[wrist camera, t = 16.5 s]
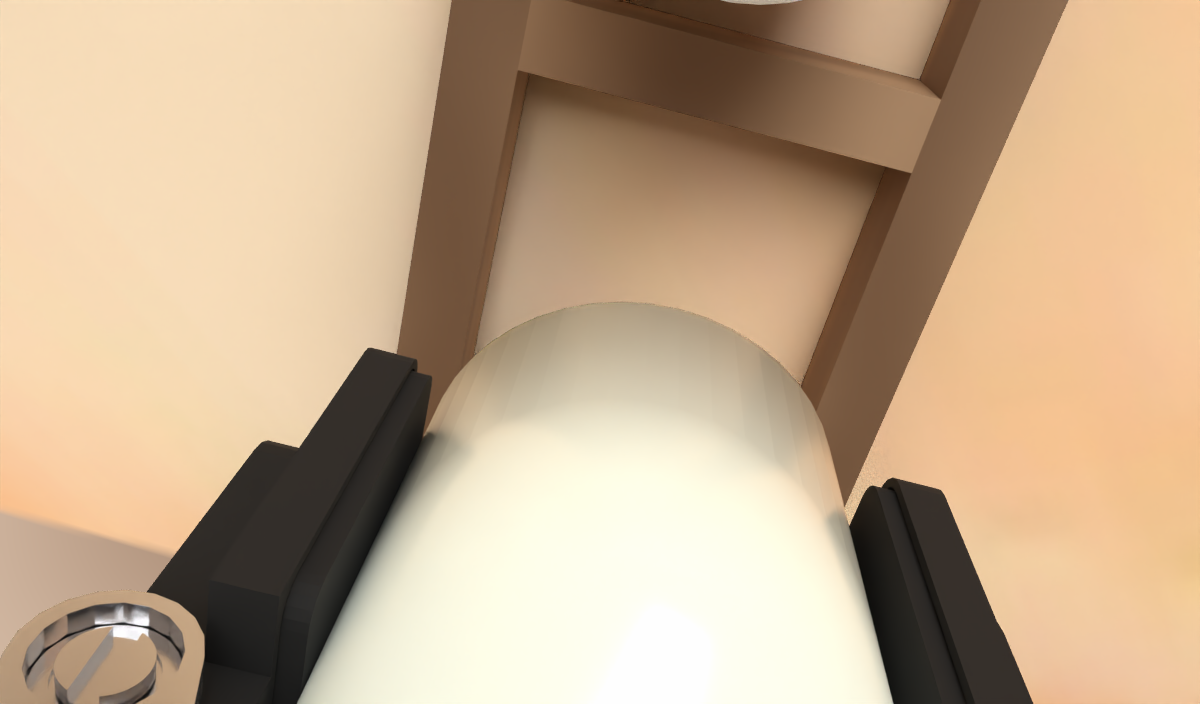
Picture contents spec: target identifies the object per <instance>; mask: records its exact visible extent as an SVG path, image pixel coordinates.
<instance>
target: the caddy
mask: <svg viewBox="0 0 1200 704" xmlns="http://www.w3.org/2000/svg"><path fill="white" fill-rule="evenodd" d="M1067 2H1068V0H951V1H950V3H949V6H948V9H947V11H946V14H945V16H944V19H943V21H942V24H941V27H940V29H939V32H938V34H937V37H936V40H935V42H934V45H933V47H932V50H931V52H930V55H929V58H928V60H927V63H926V65H925V68H924V71H923V73H922V76H921V78H920V80H918V79H914V78H910V77H906V76H902V75H899V74H895V73H891V72H887V71H884V70H880V69H876V68H872V67H868V66H865V65H861V64H857V63H853V62H850V61H846V60H842V59H838V58H834V57H831V56H827V55H823V54H819V53H816V52H812V51H808V50H804V49H800V48H797V47H793V46H789V45H785V44H782V43H778V42H774V41H770V40H766V39H763V38H759V37H755V36H751V35H747V34H744V33H740V32H736V31H732V30H729V29H725V28H721V27H717V26H713V25H710V24H706V23H702V22H698V21H695V20H691V19H687V18H683V17H679V16H676V15H672V14H668V13H664V12H661V11H657V10H653V9H649V8H645V7H642V6H638V5H634V4H630V3H627V2H623V1H619V0H452V3H451V10H450V16H449V23H448V29H447V36H446V42H445V48H444V55H443V61H442V68H441V74H440V80H439V87H438V93H437V100H436V106H435V113H434V119H433V125H432V132H431V138H430V145H429V151H428V157H427V164H426V170H425V177H424V183H423V190H422V196H421V202H420V209H419V215H418V222H417V228H416V235H415V241H414V247H413V254H412V260H411V267H410V273H409V279H408V286H407V292H406V299H405V305H404V312H403V318H402V324H401V331H400V337H399V344H398V350H397V354H398V355H402V356H406V357H410V358H414V359H417V362H418V369H417V372H418V373H422V374H426V375H430V376H432V386H431V393H430V398H429V404H428V409H427V415H426V421H425V426H424V432H423V437H424V435H425V433H426V430H427V428H428V426H429V424H430V422H431V420H432V418H433V416H434V414H435V411H436V409H437V407H438V405H439V403H440V401H441V399H442V397H443V395H444V394H445V392H446V391H447V389H448V387H449V386H450V384H451V383H452V381H453V380H454V378H455V377H456V376H457V374H458V373H459V372H460V371H461V370H462V369H463V368H464V367H465V365H466V364H467V363H468V362H469V361H470V360H471V359H472V358H473V355H474V350H475V345H476V340H477V335H478V330H479V325H480V320H481V315H482V310H483V305H484V300H485V295H486V290H487V285H488V280H489V275H490V269H491V264H492V259H493V254H494V249H495V244H496V239H497V234H498V229H499V224H500V219H501V214H502V209H503V204H504V199H505V194H506V189H507V184H508V179H509V174H510V169H511V164H512V159H513V154H514V149H515V143H516V138H517V133H518V128H519V123H520V118H521V113H522V108H523V103H524V98H525V93H526V88H527V83H528V78H529V73H531V74H535V75H538V76H542V77H546V78H550V79H554V80H558V81H561V82H565V83H569V84H573V85H577V86H580V87H584V88H588V89H592V90H596V91H600V92H603V93H607V94H611V95H615V96H619V97H622V98H626V99H630V100H634V101H638V102H641V103H645V104H649V105H653V106H657V107H661V108H664V109H668V110H672V111H676V112H680V113H683V114H687V115H691V116H695V117H699V118H702V119H706V120H710V121H714V122H718V123H722V124H725V125H729V126H733V127H737V128H741V129H744V130H748V131H752V132H756V133H760V134H764V135H767V136H771V137H775V138H779V139H783V140H786V141H790V142H794V143H798V144H802V145H805V146H809V147H813V148H817V149H821V150H825V151H828V152H832V153H836V154H840V155H844V156H847V157H851V158H855V159H859V160H863V161H866V162H870V163H874V164H878V165H882V166H886V169H885V171H884V174H883V177H882V179H881V182H880V184H879V187H878V189H877V192H876V195H875V197H874V200H873V202H872V205H871V208H870V210H869V213H868V215H867V218H866V220H865V223H864V226H863V228H862V231H861V233H860V236H859V239H858V241H857V244H856V246H855V249H854V251H853V254H852V257H851V259H850V262H849V264H848V267H847V270H846V272H845V275H844V277H843V280H842V282H841V285H840V288H839V290H838V293H837V295H836V298H835V301H834V303H833V306H832V308H831V311H830V314H829V316H828V319H827V321H826V324H825V326H824V329H823V332H822V334H821V337H820V339H819V342H818V345H817V347H816V350H815V352H814V355H813V357H812V360H811V363H810V365H809V368H808V370H807V373H806V376H805V378H804V381H803V383H802V386H801V388H802V390H803V391H804V393H805V394H806V396H807V397H808V399H809V400H810V401H811V403H812V405H813V407H814V409H815V411H816V413H817V415H818V417H819V419H820V421H821V423H822V426H823V429H824V432H825V435H826V438H827V442H828V445H829V448H830V452H831V456H832V460H833V464H834V468H835V472H836V476H837V480H838V484H839V488H840V492H841V496H842V500H843V504H844V507H845V505H846V503H847V500H848V498H849V496H850V494H851V491H852V489H853V487H854V485H855V482H856V480H857V478H858V476H859V473H860V471H861V469H862V466H863V464H864V462H865V460H866V457H867V455H868V453H869V451H870V448H871V446H872V444H873V442H874V439H875V437H876V435H877V433H878V430H879V428H880V426H881V423H882V421H883V419H884V417H885V414H886V412H887V410H888V408H889V405H890V403H891V401H892V399H893V396H894V394H895V392H896V389H897V387H898V385H899V383H900V380H901V378H902V376H903V374H904V371H905V369H906V367H907V365H908V362H909V360H910V358H911V355H912V353H913V351H914V349H915V346H916V344H917V342H918V340H919V337H920V335H921V333H922V331H923V328H924V326H925V324H926V321H927V319H928V317H929V315H930V312H931V310H932V308H933V306H934V303H935V301H936V299H937V297H938V294H939V292H940V290H941V288H942V285H943V283H944V281H945V278H946V276H947V274H948V272H949V269H950V267H951V265H952V263H953V260H954V258H955V256H956V254H957V251H958V249H959V247H960V244H961V242H962V240H963V238H964V235H965V233H966V231H967V229H968V226H969V224H970V222H971V220H972V217H973V215H974V213H975V210H976V208H977V206H978V204H979V201H980V199H981V197H982V195H983V192H984V190H985V188H986V186H987V183H988V181H989V179H990V176H991V174H992V172H993V170H994V167H995V165H996V163H997V161H998V158H999V156H1000V154H1001V152H1002V149H1003V147H1004V145H1005V143H1006V140H1007V138H1008V136H1009V133H1010V131H1011V129H1012V127H1013V124H1014V122H1015V120H1016V118H1017V115H1018V113H1019V111H1020V109H1021V106H1022V104H1023V102H1024V99H1025V97H1026V95H1027V93H1028V90H1029V88H1030V86H1031V84H1032V81H1033V79H1034V77H1035V75H1036V72H1037V70H1038V68H1039V65H1040V63H1041V61H1042V59H1043V56H1044V54H1045V52H1046V50H1047V47H1048V45H1049V43H1050V41H1051V38H1052V36H1053V34H1054V31H1055V29H1056V27H1057V25H1058V22H1059V20H1060V18H1061V16H1062V13H1063V11H1064V9H1065V7H1066V4H1067ZM423 437H422V439H423Z"/></svg>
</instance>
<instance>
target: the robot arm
mask: <svg viewBox="0 0 1200 704" xmlns="http://www.w3.org/2000/svg"><path fill="white" fill-rule="evenodd" d="M417 369H418V362H417V359H414V358H410V357H406V356H402V355H398V354H394V353H390V352H386V351H382V350H378V349H374V348H368V349H367V350H366V351H365V352H364V354H363V355H362V357H361V358H360V359H359V361H358V362H357V364H356V365H355V367H354V368H353V370H352V371H351V373H350V374H349V376H348V377H347V379H346V380H345V381H344V383H343V384H342V386H341V387H340V389H339V390H338V392H337V393H336V395H335V396H334V398H333V399H332V401H331V402H330V403H329V405H328V406H327V408H326V409H325V411H324V412H323V414H322V415H321V417H320V418H319V420H318V421H317V423H316V424H315V425H314V427H313V428H312V430H311V431H310V433H309V434H308V436H307V437H306V439H305V440H304V442H303V443H302V445H301V446H300V448H297V447H292V446H288V445H284V444H280V443H276V442H272V441H264V442H262V443H261V444H260V445H259V446H258V447H257V448H256V449H255V450H254V451H253V452H252V454H251V455H250V456H249V458H248V459H247V460H246V462H245V463H244V464H243V466H242V467H241V468H240V470H239V471H238V472H237V473H236V475H235V476H234V477H233V479H232V480H231V481H230V483H229V484H228V485H227V487H226V488H225V489H224V491H223V492H222V493H221V495H220V496H219V497H218V499H217V500H216V501H215V503H214V504H213V505H212V506H211V508H210V509H209V510H208V512H207V513H206V514H205V516H204V517H203V518H202V520H201V521H200V522H199V524H198V525H197V526H196V528H195V529H194V530H193V532H192V533H191V534H190V536H189V537H188V538H187V539H186V541H185V542H184V543H183V545H182V546H181V547H180V549H179V550H178V551H177V553H176V554H175V555H174V557H173V558H172V559H171V561H170V562H169V563H168V565H167V566H166V567H165V569H164V570H163V571H162V572H161V574H160V575H159V577H158V578H157V579H156V580H155V582H154V583H153V584H152V586H151V587H150V588H149V590H148V591H147V592H139V591H132V590H116V591H101V592H95V593H90V594H87V595H83V596H79V597H75V598H72V599H68V600H65V601H63V602H61V603H59V604H57V605H55V606H53V607H51V608H49V609H47V610H45V611H43V612H41V613H39V614H38V615H37V616H36V617H34V618H33V619H32V620H31V621H29V622H28V623H27V624H26V625H24V626H23V627H22V628H21V629H19V630H18V631H17V633H16V634H15V636H14V637H13V638H12V640H11V641H10V643H9V644H8V646H7V647H6V649H5V650H4V652H3V653H2V655H1V658H0V704H297V702H298V700H299V698H300V696H301V694H302V692H303V690H304V687H305V685H306V683H307V681H308V679H309V677H310V675H311V673H312V671H313V669H314V666H315V664H316V662H317V660H318V658H319V656H320V654H321V652H322V650H323V647H324V645H325V643H326V641H327V639H328V637H329V635H330V633H331V631H332V628H333V626H334V624H335V622H336V620H337V618H338V616H339V614H340V612H341V610H342V607H343V605H344V603H345V601H346V599H347V597H348V595H349V593H350V591H351V588H352V586H353V584H354V582H355V580H356V578H357V576H358V574H359V572H360V569H361V567H362V565H363V563H364V561H365V559H366V557H367V555H368V553H369V551H370V548H371V546H372V544H373V542H374V540H375V538H376V536H377V534H378V532H379V529H380V527H381V525H382V523H383V521H384V519H385V517H386V515H387V513H388V510H389V508H390V506H391V504H392V502H393V500H394V498H395V496H396V494H397V492H398V489H399V487H400V485H401V483H402V481H403V479H404V477H405V475H406V473H407V470H408V468H409V466H410V464H411V462H412V460H413V458H414V456H415V454H416V451H417V449H418V447H419V445H420V443H421V441H422V437H423V432H424V426H425V421H426V415H427V409H428V404H429V398H430V393H431V386H432V376H430V375H426V374H422V373H418V372H417ZM849 528H850V532H851V536H852V540H853V544H854V548H855V552H856V556H857V560H858V564H859V568H860V572H861V576H862V580H863V584H864V588H865V592H866V596H867V600H868V604H869V608H870V612H871V616H872V620H873V624H874V628H875V632H876V636H877V640H878V644H879V648H880V652H881V656H882V660H883V664H884V668H885V672H886V676H887V680H888V684H889V688H890V692H891V696H892V700H893V704H1033V702H1032V699H1031V697H1030V695H1029V692H1028V690H1027V687H1026V685H1025V683H1024V680H1023V678H1022V675H1021V673H1020V671H1019V668H1018V666H1017V663H1016V661H1015V659H1014V656H1013V654H1012V651H1011V649H1010V647H1009V644H1008V642H1007V639H1006V637H1005V635H1004V633H1003V631H1002V629H1001V628H1000V626H999V624H998V623H997V621H996V619H995V616H994V614H993V611H992V609H991V606H990V604H989V602H988V599H987V597H986V594H985V592H984V590H983V587H982V585H981V582H980V580H979V577H978V575H977V573H976V570H975V568H974V565H973V563H972V561H971V558H970V556H969V553H968V551H967V548H966V546H965V544H964V541H963V539H962V536H961V534H960V532H959V529H958V527H957V524H956V522H955V519H954V517H953V515H952V512H951V510H950V507H949V505H948V503H947V500H946V498H945V495H944V494H943V492H942V491H941V490H939V489H936V488H932V487H928V486H924V485H920V484H916V483H912V482H908V481H904V480H900V479H896V478H891V479H888V480H887V481H886V482H885V483H884V485H883V486H882V488H880V487H876V486H870V487H869V488H868V489H867V490H866V491H865V493H864V495H863V497H862V499H861V501H860V504H859V506H858V508H857V510H856V513H855V515H854V517H853V519H852V521H851V524H850V526H849Z"/></svg>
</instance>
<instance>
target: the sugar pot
mask: <svg viewBox="0 0 1200 704" xmlns="http://www.w3.org/2000/svg"><path fill="white" fill-rule="evenodd" d="M297 704H893V700H892V696H891V692H890V688H889V684H888V680H887V676H886V672H885V668H884V664H883V660H882V656H881V652H880V648H879V644H878V640H877V636H876V632H875V628H874V624H873V620H872V616H871V612H870V608H869V604H868V600H867V596H866V592H865V588H864V584H863V580H862V576H861V572H860V568H859V564H858V560H857V556H856V552H855V548H854V544H853V540H852V536H851V532H850V528H849V524H848V520H847V516H846V512H845V508H844V504H843V500H842V496H841V492H840V488H839V484H838V480H837V476H836V472H835V468H834V464H833V460H832V456H831V452H830V448H829V445H828V442H827V438H826V435H825V432H824V429H823V426H822V423H821V421H820V419H819V417H818V415H817V413H816V411H815V409H814V407H813V405H812V403H811V401H810V400H809V399H808V397H807V396H806V394H805V393H804V391H803V390H802V388H801V387H800V386H799V384H798V383H797V381H796V380H795V379H794V378H793V377H792V376H791V375H790V374H789V373H788V372H787V371H786V369H785V368H784V367H783V366H782V365H781V364H780V363H779V362H778V361H777V360H775V359H774V358H773V357H772V356H771V355H769V354H768V353H767V352H766V351H765V350H763V349H762V348H761V347H760V346H758V345H757V344H755V343H754V342H752V341H751V340H749V339H747V338H746V337H744V336H743V335H741V334H739V333H738V332H736V331H735V330H733V329H730V328H728V327H726V326H724V325H722V324H720V323H717V322H715V321H713V320H711V319H709V318H706V317H703V316H700V315H696V314H693V313H690V312H687V311H684V310H681V309H676V308H671V307H665V306H660V305H655V304H646V303H631V302H610V303H592V304H587V305H581V306H576V307H570V308H564V309H561V310H558V311H555V312H552V313H548V314H545V315H542V316H539V317H536V318H534V319H532V320H530V321H527V322H525V323H523V324H521V325H519V326H517V327H514V328H512V329H511V330H509V331H508V332H506V333H505V334H503V335H501V336H500V337H498V338H497V339H495V340H494V341H492V342H490V343H489V344H488V345H487V346H486V347H485V348H483V349H482V350H481V351H480V352H479V353H477V354H476V355H475V356H474V357H473V358H472V359H471V360H470V361H469V362H468V363H467V364H466V365H465V367H464V368H463V369H462V370H461V371H460V372H459V373H458V374H457V376H456V377H455V378H454V380H453V381H452V383H451V384H450V386H449V387H448V389H447V391H446V392H445V394H444V395H443V397H442V399H441V401H440V403H439V405H438V407H437V409H436V411H435V414H434V416H433V418H432V420H431V422H430V424H429V426H428V428H427V430H426V433H425V435H424V437H423V439H422V441H421V443H420V445H419V447H418V449H417V451H416V454H415V456H414V458H413V460H412V462H411V464H410V466H409V468H408V470H407V473H406V475H405V477H404V479H403V481H402V483H401V485H400V487H399V489H398V492H397V494H396V496H395V498H394V500H393V502H392V504H391V506H390V508H389V510H388V513H387V515H386V517H385V519H384V521H383V523H382V525H381V527H380V529H379V532H378V534H377V536H376V538H375V540H374V542H373V544H372V546H371V548H370V551H369V553H368V555H367V557H366V559H365V561H364V563H363V565H362V567H361V569H360V572H359V574H358V576H357V578H356V580H355V582H354V584H353V586H352V588H351V591H350V593H349V595H348V597H347V599H346V601H345V603H344V605H343V607H342V610H341V612H340V614H339V616H338V618H337V620H336V622H335V624H334V626H333V628H332V631H331V633H330V635H329V637H328V639H327V641H326V643H325V645H324V647H323V650H322V652H321V654H320V656H319V658H318V660H317V662H316V664H315V666H314V669H313V671H312V673H311V675H310V677H309V679H308V681H307V683H306V685H305V687H304V690H303V692H302V694H301V696H300V698H299V700H298V702H297Z"/></svg>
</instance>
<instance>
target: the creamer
mask: <svg viewBox="0 0 1200 704" xmlns="http://www.w3.org/2000/svg"><path fill="white" fill-rule="evenodd" d="M722 1H727V2H731V3H744V4H757V5H763V4H780V3H791V2H796V1H801V0H722Z"/></svg>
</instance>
